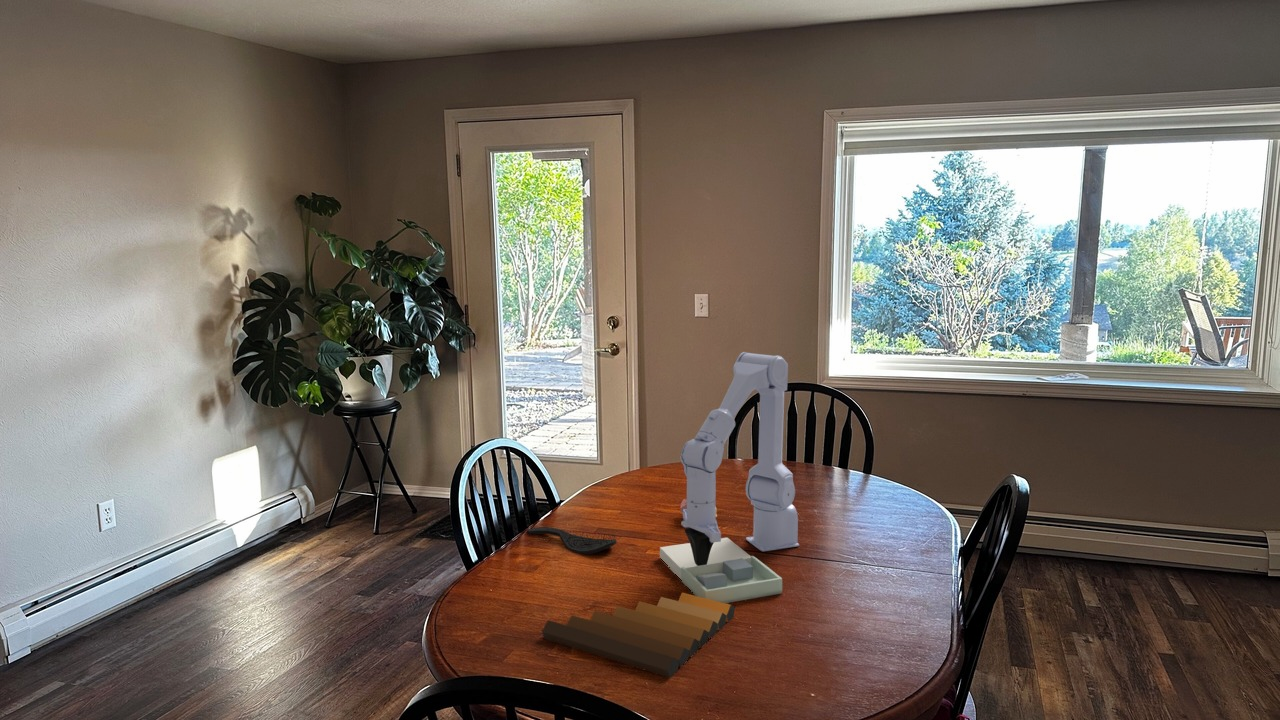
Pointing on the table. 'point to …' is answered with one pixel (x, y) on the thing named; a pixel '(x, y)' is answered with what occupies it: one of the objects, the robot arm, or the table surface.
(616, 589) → the table surface
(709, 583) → the tile outer
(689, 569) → the board
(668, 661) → the pan flute
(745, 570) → the squat square grey block
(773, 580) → the box
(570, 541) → the hairbrush
